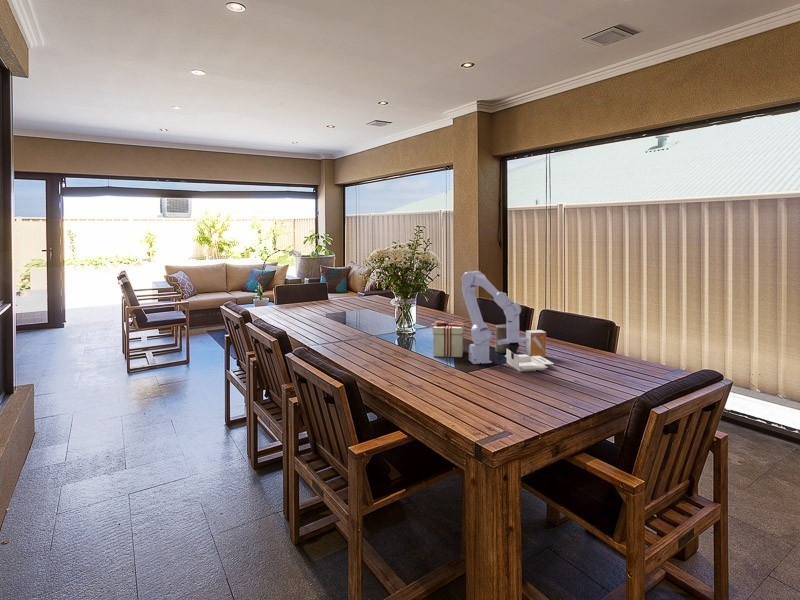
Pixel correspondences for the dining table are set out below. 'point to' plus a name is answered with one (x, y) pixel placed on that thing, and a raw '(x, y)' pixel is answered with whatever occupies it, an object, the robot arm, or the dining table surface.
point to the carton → (527, 364)
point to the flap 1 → (508, 356)
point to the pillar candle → (501, 334)
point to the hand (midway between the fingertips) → (513, 358)
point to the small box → (535, 343)
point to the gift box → (448, 339)
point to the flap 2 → (542, 360)
